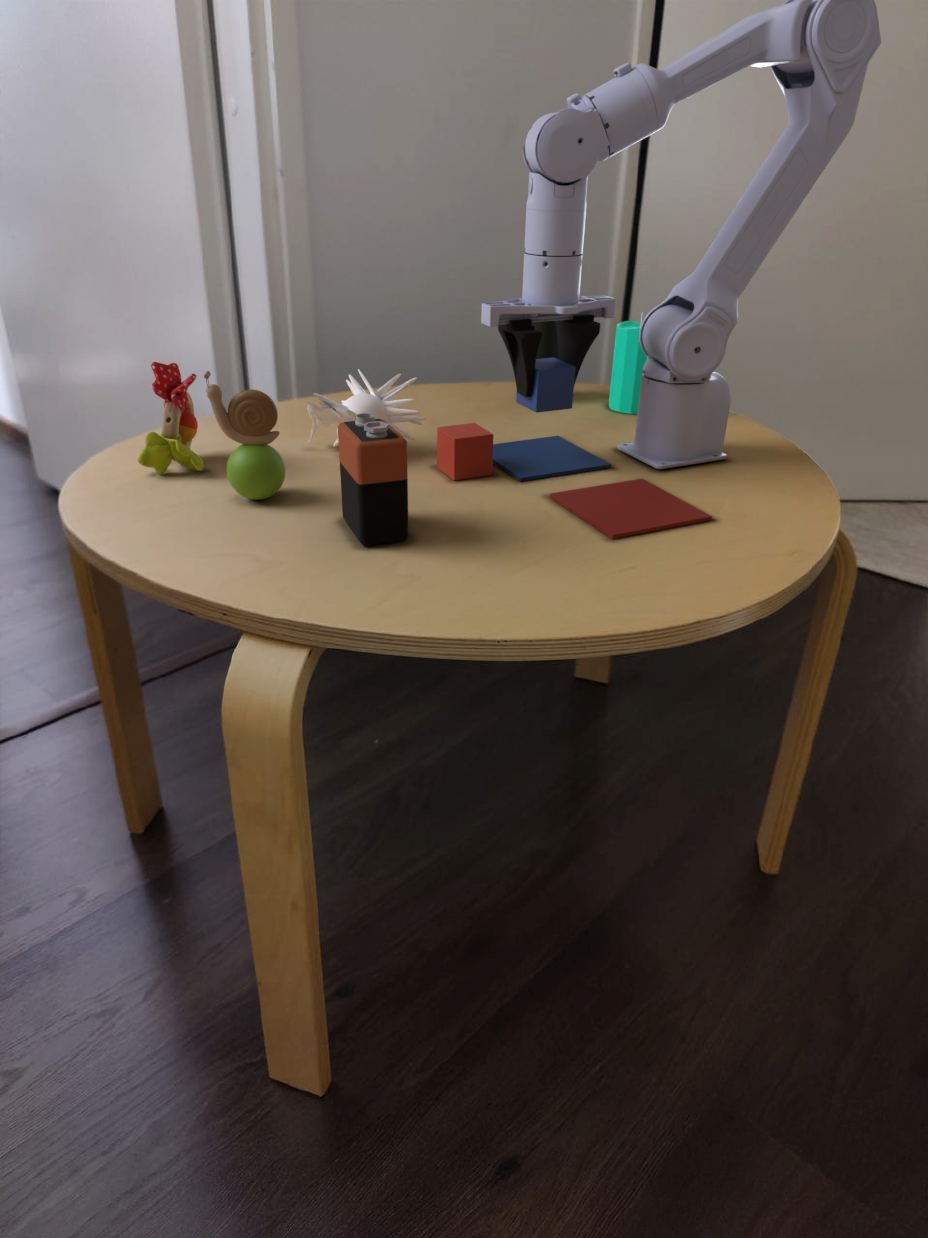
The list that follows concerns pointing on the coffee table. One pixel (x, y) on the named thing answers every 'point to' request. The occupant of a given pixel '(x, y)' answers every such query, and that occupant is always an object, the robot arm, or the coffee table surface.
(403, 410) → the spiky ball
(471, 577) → the coffee table surface
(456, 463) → the red block
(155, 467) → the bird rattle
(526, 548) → the coffee table surface
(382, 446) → the battery
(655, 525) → the red mat
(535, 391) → the blue block
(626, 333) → the candle
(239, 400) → the snail figurine
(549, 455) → the blue mat
